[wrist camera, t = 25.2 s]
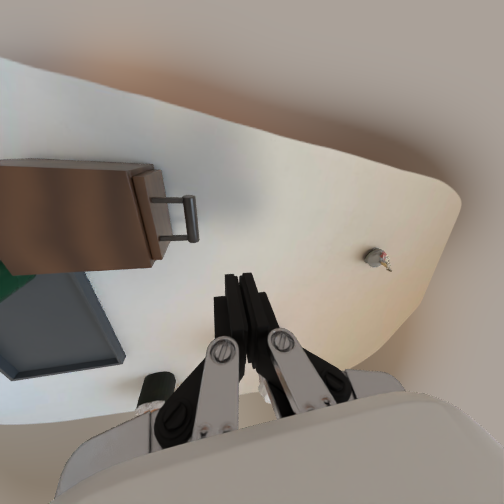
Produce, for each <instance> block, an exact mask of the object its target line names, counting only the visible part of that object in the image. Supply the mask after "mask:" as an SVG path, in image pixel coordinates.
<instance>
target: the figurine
mask: <svg viewBox="0 0 504 504" xmlns="http://www.w3.org/2000/svg"><path fill="white" fill-rule="evenodd" d="M386 255H387V254H386V253H385V252H384V251H383V250H381V249H375V250H374V251H372V252H370V253H369V254H368V255H367V256H366V258H365V262H366V263H368V264H369V265H370V266H371V267H378V266H380V265H381V264H382V265H383V266H385V267H386V268H388V269H387V270H388V271H391V272H392V270H391V269H390V266H391V265H390V266H389V267H388V265H389V264H390V262H389V263H388V264H387V258H388V256H387V258H386ZM388 259H389V258H388ZM388 261H389V260H388Z"/></svg>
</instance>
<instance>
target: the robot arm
mask: <svg viewBox="0 0 504 504" xmlns="http://www.w3.org/2000/svg"><path fill="white" fill-rule="evenodd" d="M214 325H215V339H214V340H213V341H212V342H211V343H210V344H209V346H208V348H207V352H206V357H205V358H204V360H203V361H202V362H201V363H200V364H199V365H198V366H197V367H196V368H195V370H194V371H193V372H192V373H191V374H190V375H189V376H188V377H187V379H186V380H185V381H184V382H183V383H182V384H181V385H180V386H179V387H178V389H177V390H176V391H175V392H174V393H173V394H172V395H171V396H170V397H169V399H168V400H167V401H166V402H165V403H164V404H163V406H162V407H161V408H159V409H157V410H155V411H153V412H150V411H148V412H146V413H143V414H141V415H139V416H137V417H135V418H133V419H131V420H129V421H126V422H124V423H122V424H120V425H118V426H116V427H113V428H111V429H110V430H107V431H105V432H103V433H101V434H98V435H96V436H94V437H92V438H90V439H89V440H87V441H86V442H84V443H82V444H81V445H80V446H79V447H78V448H77V450H76V451H74V452H73V454H72V455H71V457H70V458H69V459H68V461H67V462H66V464H65V466H64V469H63V471H62V473H61V477H60V480H59V483H58V487H57V491H56V494H55V498H54V500H53V501H51V502H50V503H49V504H504V447H503V446H502V445H501V444H500V443H499V442H498V441H497V440H495V438H493V437H492V436H491V435H490V434H489V433H488V432H487V431H486V430H485V429H484V428H483V427H482V426H481V425H479V424H478V423H477V422H476V421H475V420H474V419H472V418H471V417H470V416H469V415H468V414H466V413H465V412H464V411H462V410H461V409H459V408H458V407H456V406H454V405H453V404H451V403H449V402H447V401H444V400H442V399H439V398H437V397H434V396H430V395H427V394H424V393H418V392H410V391H405V389H404V387H403V386H402V385H401V383H400V382H399V381H398V380H397V379H396V378H394V377H393V376H391V375H390V374H388V373H385V372H378V371H365V370H352V369H345V371H341V370H339V369H338V368H337V367H335V366H333V365H331V364H330V363H328V362H326V361H325V360H323V359H321V358H319V357H318V356H316V355H314V354H312V353H311V352H309V351H307V350H306V349H304V348H302V347H301V345H300V344H299V342H298V340H297V339H296V337H295V336H294V335H293V333H291V332H290V331H289V330H287V329H284V328H279V325H278V323H277V320H276V318H275V315H274V312H273V310H272V307H271V305H270V302H269V300H268V297H267V294H266V293H265V292H260V293H258V290H257V287H256V284H255V281H254V278H253V275H252V273H243V274H242V276H240V277H239V282H238V277H237V276H234V274H225V296H219V297H214ZM246 353H247V359H248V363H252V367H253V369H255V368H256V372H257V373H258V374H260V375H261V376H262V379H263V382H264V385H265V388H266V391H267V393H268V396H269V399H270V401H271V404H272V407H273V410H274V412H275V415H276V418H277V420H273V421H269V422H265V423H261V424H258V425H253V426H250V427H246V428H242V429H238V402H239V382H240V380H241V379H242V377H243V376H244V371H245V364H246Z"/></svg>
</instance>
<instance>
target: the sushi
mask: <svg viewBox="0 0 504 504" xmlns="http://www.w3.org/2000/svg"><path fill="white" fill-rule="evenodd" d="M175 382H176V380H175V377H174V375H173V374H172V373H169V372H160V373H155V374H152V375H149V376H147V377H146V378H145V380H144V383H143V386H142V389H141V393H140V396H139V400H138V404H137V408H136V409H135V412H136V414H138V415H141V414H143V413H146V412H148V411H150V412H153V411H155V410H157V409H159V408H161V407H162V406H163V404H164V403H165V402H166V401H167V400H168V399H169V397H170V396H171V395H172V394H173V393H174V388H175Z"/></svg>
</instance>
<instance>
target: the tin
mask: <svg viewBox="0 0 504 504" xmlns="http://www.w3.org/2000/svg"><path fill="white" fill-rule="evenodd" d="M35 277H36V274H35V275H18V276H12V274H11V273H10V272H9V270H8V269H7V268H6V266H5V265H4V264H3V262H2V261H1V260H0V303H1V302H2V301H4V300H5V299H7V298H8V297H9V296H11V295H12V294H13V293H15V292H16V291H18V290H19V289H20V288H22V287H23V286H25V285H26V284H27V283H29V282H30V281H31V280H33V279H34V278H35Z"/></svg>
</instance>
